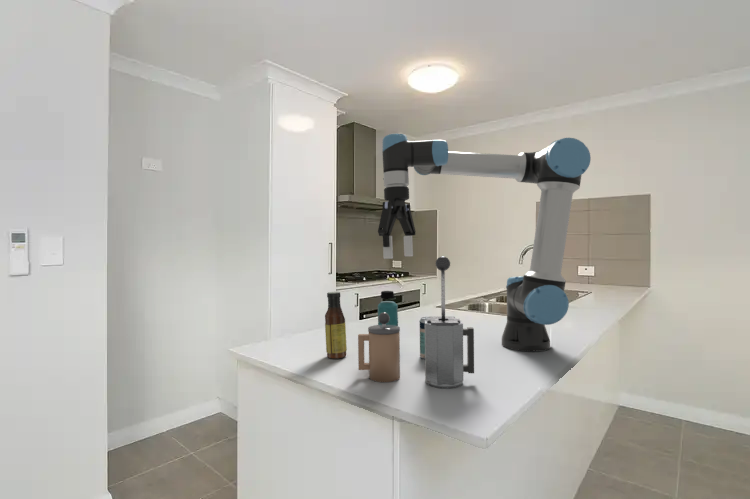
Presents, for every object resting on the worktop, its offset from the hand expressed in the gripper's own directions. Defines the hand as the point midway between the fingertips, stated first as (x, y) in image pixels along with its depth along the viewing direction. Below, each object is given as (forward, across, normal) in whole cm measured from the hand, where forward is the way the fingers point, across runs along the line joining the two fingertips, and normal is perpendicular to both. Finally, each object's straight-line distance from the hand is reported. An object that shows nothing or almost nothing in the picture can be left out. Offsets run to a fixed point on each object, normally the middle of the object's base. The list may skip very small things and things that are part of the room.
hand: (398, 257), depth 121 cm
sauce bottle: (+30, +9, -18) cm, 36 cm away
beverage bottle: (+30, 0, -5) cm, 31 cm away
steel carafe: (+31, +14, +20) cm, 39 cm away
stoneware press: (+30, +19, +3) cm, 36 cm away
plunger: (+19, +14, +19) cm, 30 cm away
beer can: (+31, -3, +7) cm, 32 cm away
